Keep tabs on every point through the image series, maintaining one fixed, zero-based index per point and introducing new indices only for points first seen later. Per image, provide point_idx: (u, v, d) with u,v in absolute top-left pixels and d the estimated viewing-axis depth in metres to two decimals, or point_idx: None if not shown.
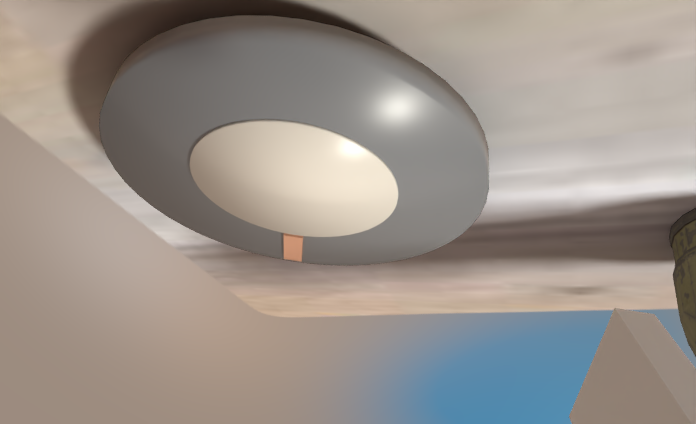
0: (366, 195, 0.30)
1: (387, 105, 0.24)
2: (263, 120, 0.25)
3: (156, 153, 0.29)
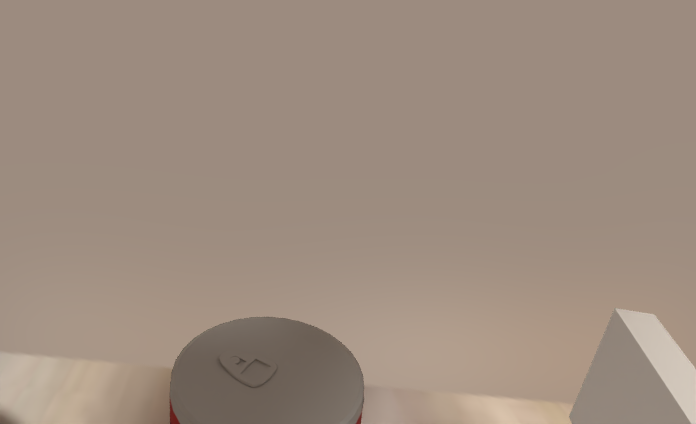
0: None
1: None
2: None
3: None
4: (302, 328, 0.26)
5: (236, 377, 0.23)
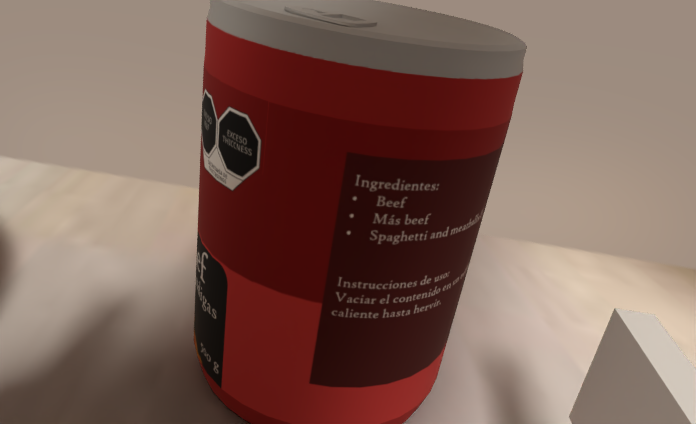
0: None
1: None
2: None
3: None
4: (407, 10, 0.17)
5: (314, 16, 0.14)
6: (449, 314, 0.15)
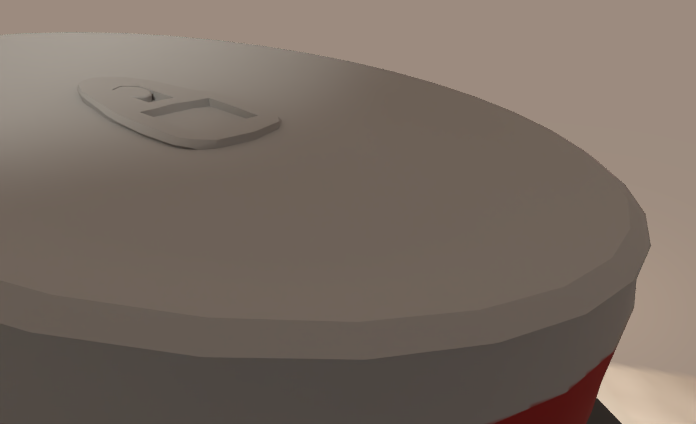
0: None
1: None
2: None
3: None
4: (360, 73, 0.09)
5: (120, 119, 0.06)
6: None
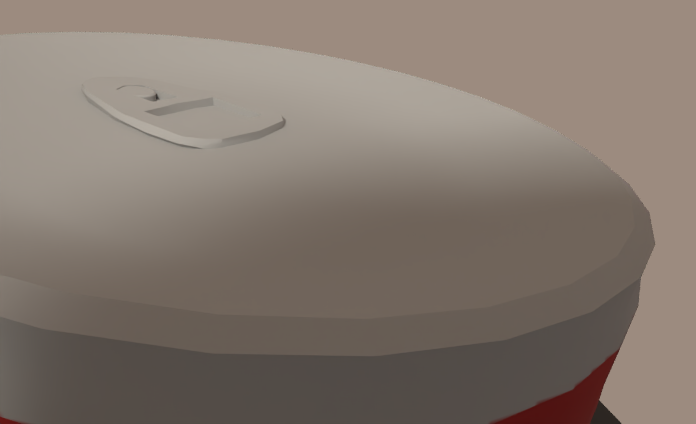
0: None
1: None
2: None
3: None
4: (363, 73, 0.09)
5: (125, 118, 0.06)
6: None
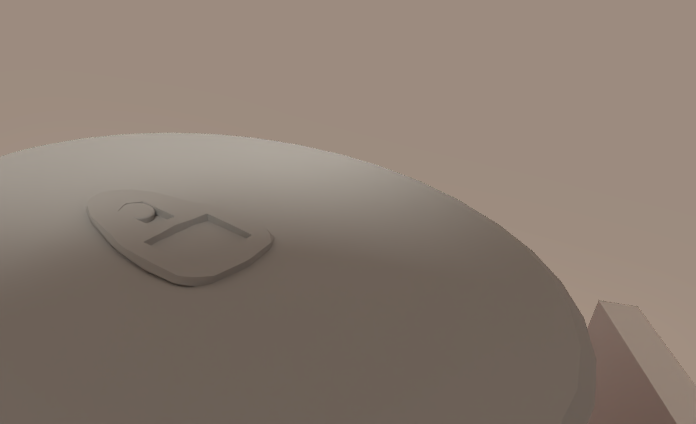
0: None
1: None
2: None
3: None
4: (350, 167, 0.09)
5: (125, 251, 0.06)
6: None
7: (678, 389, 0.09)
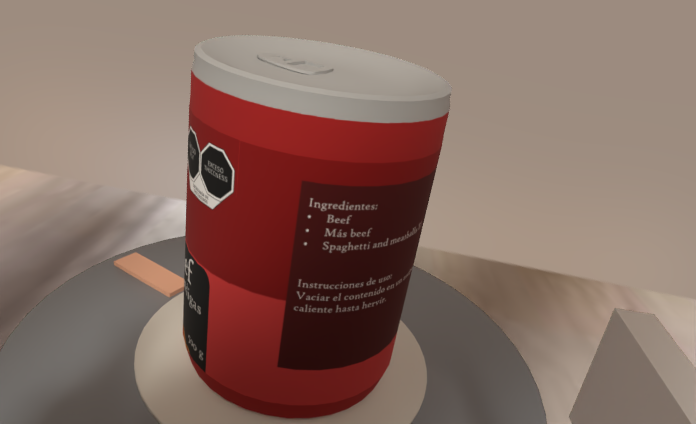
0: (225, 409, 0.19)
1: None
2: (424, 395, 0.21)
3: None
4: (363, 53, 0.20)
5: (280, 65, 0.17)
6: (395, 309, 0.18)
7: None
